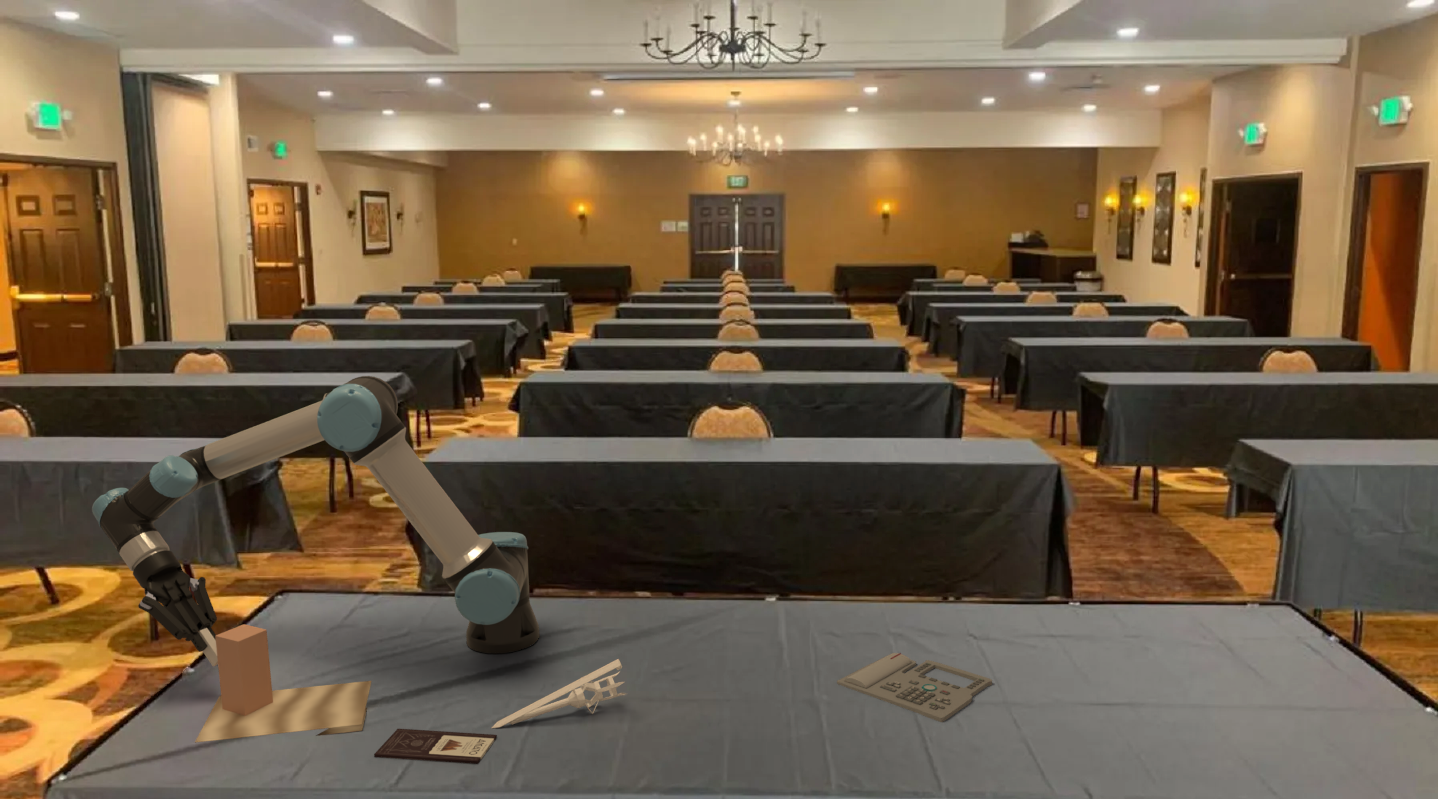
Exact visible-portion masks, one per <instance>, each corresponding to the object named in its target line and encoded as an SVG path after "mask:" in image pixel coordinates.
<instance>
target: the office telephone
mask: <svg viewBox="0 0 1438 799" xmlns="http://www.w3.org/2000/svg"><path fill="white" fill-rule="evenodd" d="M934 669H936V670H940V671H942V672H946V673H949V674H952V675H955V676H958V677H962V678H965V679H968V680H971V681H973V682H971V683H970V684H968V685H967V686H965V687H963V686H959V685H956V684H952V683H950V682H947V681H943V680H939V679H937V678H934V677H930V676H926V675H925V674H927V673H928V672H930V671H931V670H934ZM836 684H837V685H838V686H842V687H845V688H847V689H850V690H853V691H855V692H858V693H861V694H864V695H866V696H869V697H872V698H875V699H878V700H881V701H883V702H886V703H888V704H892V705H893V706H897V707H900V708H903V709H906V710H907V711H911V712H914V713H916V714H918V715H921V716H923V717H925V718H928V719H932V720H934V721H936V722H940V723H943V722H945V721H947V720H948V719H949V718H951V717H953V716H954V715H956V714H957V713H958V712H959V711H961V710H962V709H964V708H965V707H967V706H968V705H969V704H970V703H972V701H973V697H974V696H976V695H977V694H978V693H979V692H982V691H983V690H984V689H987V688H988V687H989V686H992V685H993V680H992V679H991V678H990V677H989V678H988V677H986V676H983V675H979V674H976V673H973V672H970V671H967V670H963V669H960V668H957V667H955V666H952V665H951V666H950V665H948V664H944V663H941V662H937V661H934V660H930V659H926V660H925V661H923V662H922V663H920V664H919V665H917V661H915V660H913V659H911V658H910V657H908V656H907V655H904V654H902V653H901V652H899V653H898V652H893V653H890V654H887V655H886V656H883V657H881V658H880V659H878V660H876V661H874V662H871V663H869V664H867V665H865V666H863V667H861V668H859V669H857V670H855V671H854V672H852V673H850V674H848V675H846V676H844V677H842V678H839V679H838V680H836Z"/></svg>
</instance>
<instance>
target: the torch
mask: <svg viewBox="0 0 1438 799" xmlns="http://www.w3.org/2000/svg"><path fill="white" fill-rule="evenodd" d="M622 668H623V665H622V663H621V661H620V659H619V658H618V659H615V660H613V661H611V662H609V663H608V664H605V665H604V666H602V667H600V668H598V669H596V670H594V671H592V672H590V673H588V674H586V675H584V676H581V677H580V678H579V679H577V680H574V681H573V682H571V683H569V684H567V685H565V686H563V687H561V688H559V689H558V690H555V691H554V692H552V693H550V694H548V695H546V696H544V697H542V698H540V699H538V700H536V701H534V702H533V703H531V704H529V705H527V706H525V707H523V708H521V709H519V710H517V711H515V712H514V713H511V714H509V715H507V716H506V717H503V718H501V719H499V720H498V721H496V723H494V725H493V726H491V729H496V728H501V727H503V726H505V725H507V724H510V725H511V726H513V725H514V724H518V723H521V722H524V721H526V720H530V719H533V718H535V717H536V718H537V716H541V715H543V714H548V713H550V712H553V711H555V710H559V709H562V708H564V707H567V706H572V707H574V708H577V709H580V708H582V707H585V706H586V708H587V709H588V710H589V712H590V714H592V715H593V714H594V712H595V710H596V708H597V706H598V704H599V702H604V701H606V700H610V699H615V698H617V697H621V696H625V695H627V693H626V692H619V693H618V692H617V691H618V690H617V688H619V686H621V685H622V684H624V683H625V681H618V682H615V681H614V678H615V677H616V676H618V675H619V673H620V671H621V669H622ZM615 669H616V671H618V672H617V673H615V674H611V675H609V676H606V677H603V678H601V679H599V680H595V679H597V678H599V677H601V676H603V675H606V674H607V673H609V672H611V671H613V670H615ZM619 670H620V671H619ZM593 680H595V681H593ZM604 681H606V684H607V685H606V686H604V687H601V685H600V683H602V682H604ZM585 691H589V692H594V695H593V697H591V699H586V696H585V693H584V692H585ZM607 691H608V692H609V694H610V696H606V697H604V695H603V693H604V692H607ZM569 692H570V693H569ZM568 693H569V695H568V696H567V697H566V698H562V699H560V700H558V701H555V702H552V701H554V700H557V699H558V698H560V697H562V696H564V695H566V694H568ZM550 702H552V703H550ZM596 702H597V703H596ZM593 705H595V707H594V709H593V710H592V711H591V709H589V708H590V707H592V706H593Z"/></svg>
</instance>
